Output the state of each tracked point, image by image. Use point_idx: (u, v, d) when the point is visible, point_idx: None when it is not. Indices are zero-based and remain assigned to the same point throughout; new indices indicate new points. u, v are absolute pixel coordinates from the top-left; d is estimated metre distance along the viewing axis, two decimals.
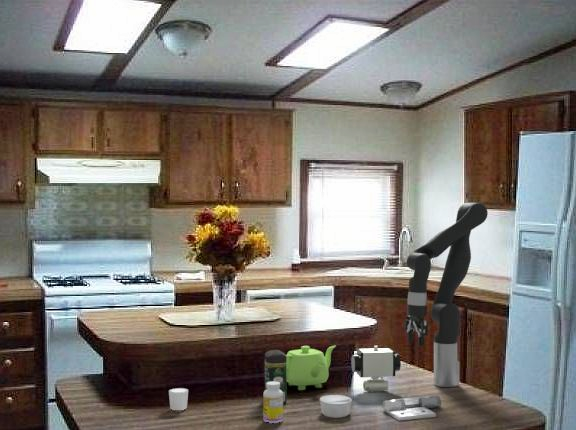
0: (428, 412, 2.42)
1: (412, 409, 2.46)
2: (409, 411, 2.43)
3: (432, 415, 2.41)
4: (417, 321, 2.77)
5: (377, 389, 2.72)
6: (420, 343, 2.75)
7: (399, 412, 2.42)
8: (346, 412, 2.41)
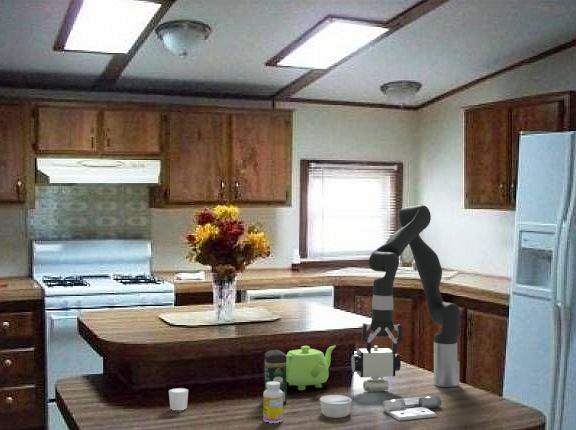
0: (428, 412, 2.42)
1: (412, 409, 2.46)
2: (409, 411, 2.43)
3: (432, 415, 2.41)
4: (390, 327, 2.51)
5: (377, 389, 2.72)
6: (395, 350, 2.52)
7: (399, 412, 2.42)
8: (346, 412, 2.41)
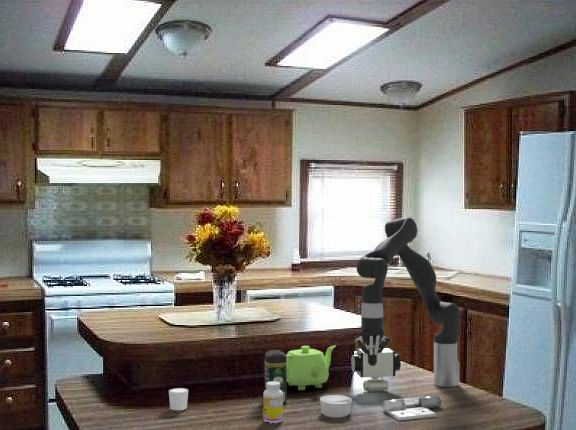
0: (428, 412, 2.42)
1: (412, 409, 2.46)
2: (409, 411, 2.43)
3: (432, 415, 2.41)
4: (380, 334, 2.44)
5: (377, 389, 2.72)
6: (376, 361, 2.44)
7: (399, 412, 2.42)
8: (346, 412, 2.41)
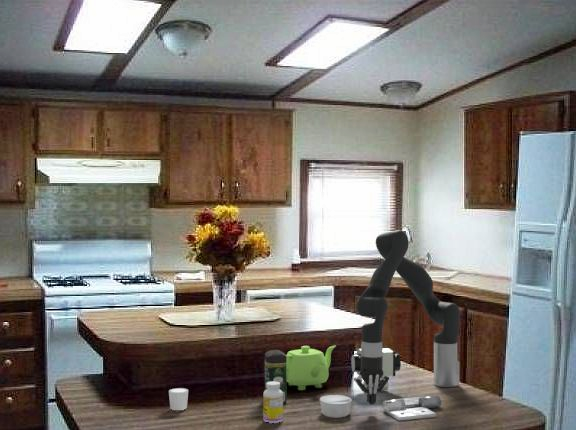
0: (428, 412, 2.42)
1: (412, 409, 2.46)
2: (409, 411, 2.43)
3: (432, 415, 2.41)
4: (380, 373, 2.45)
5: None
6: (375, 400, 2.44)
7: (399, 412, 2.42)
8: (346, 412, 2.41)
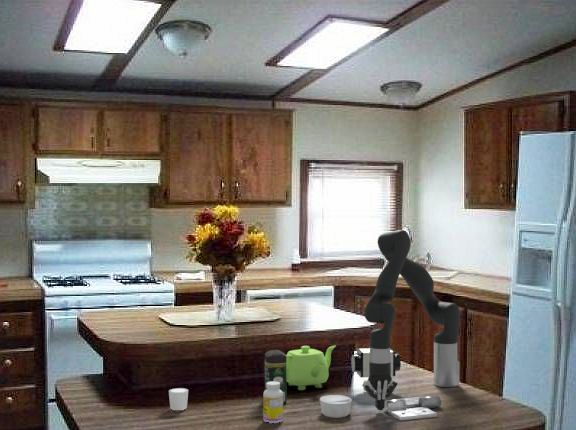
0: (429, 412, 2.42)
1: (413, 409, 2.46)
2: (410, 411, 2.43)
3: (433, 415, 2.41)
4: (388, 378, 2.46)
5: None
6: (383, 406, 2.46)
7: (400, 412, 2.42)
8: (346, 412, 2.41)
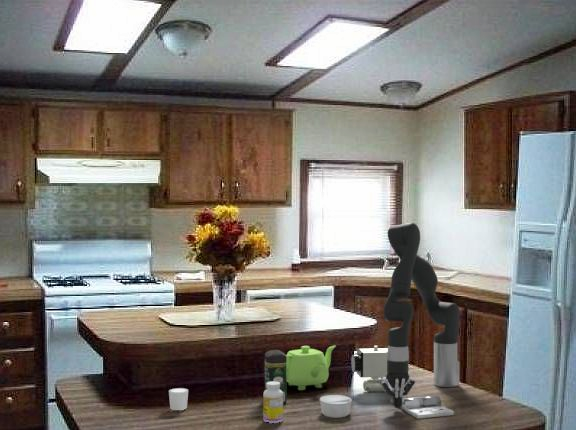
0: (446, 410, 2.44)
1: (430, 407, 2.48)
2: (427, 409, 2.45)
3: (450, 413, 2.43)
4: (406, 376, 2.48)
5: (377, 389, 2.72)
6: (401, 404, 2.48)
7: (418, 410, 2.44)
8: (346, 412, 2.41)
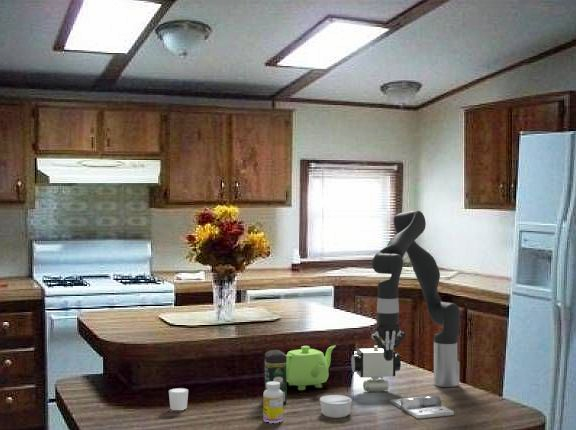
0: (446, 410, 2.44)
1: (430, 407, 2.48)
2: (427, 409, 2.45)
3: (450, 413, 2.43)
4: (396, 329, 2.46)
5: (377, 389, 2.72)
6: (392, 356, 2.46)
7: (418, 410, 2.44)
8: (346, 412, 2.41)
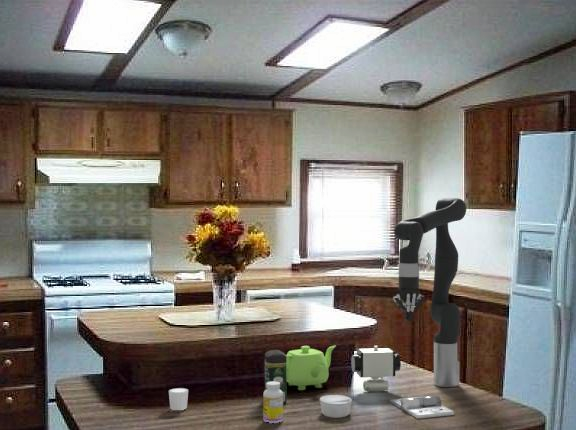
0: (446, 410, 2.44)
1: (430, 407, 2.48)
2: (427, 409, 2.45)
3: (450, 413, 2.43)
4: (416, 292, 2.63)
5: (377, 389, 2.72)
6: (412, 318, 2.63)
7: (418, 410, 2.44)
8: (346, 412, 2.41)
